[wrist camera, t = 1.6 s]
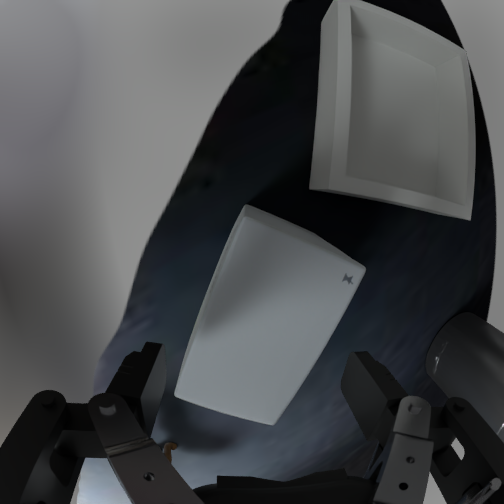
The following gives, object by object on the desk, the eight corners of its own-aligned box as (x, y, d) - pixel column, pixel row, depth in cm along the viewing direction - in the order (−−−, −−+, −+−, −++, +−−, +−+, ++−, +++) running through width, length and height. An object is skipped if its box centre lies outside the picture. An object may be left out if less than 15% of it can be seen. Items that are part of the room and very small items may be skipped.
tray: (437, 65, 19) (465, 51, 14) (435, 213, 22) (470, 220, 17) (321, 22, 18) (337, -7, 13) (308, 189, 21) (328, 189, 16)
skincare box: (240, 201, 21) (241, 211, 11) (316, 233, 22) (374, 268, 12) (194, 318, 23) (169, 399, 13) (264, 342, 24) (278, 429, 14)
